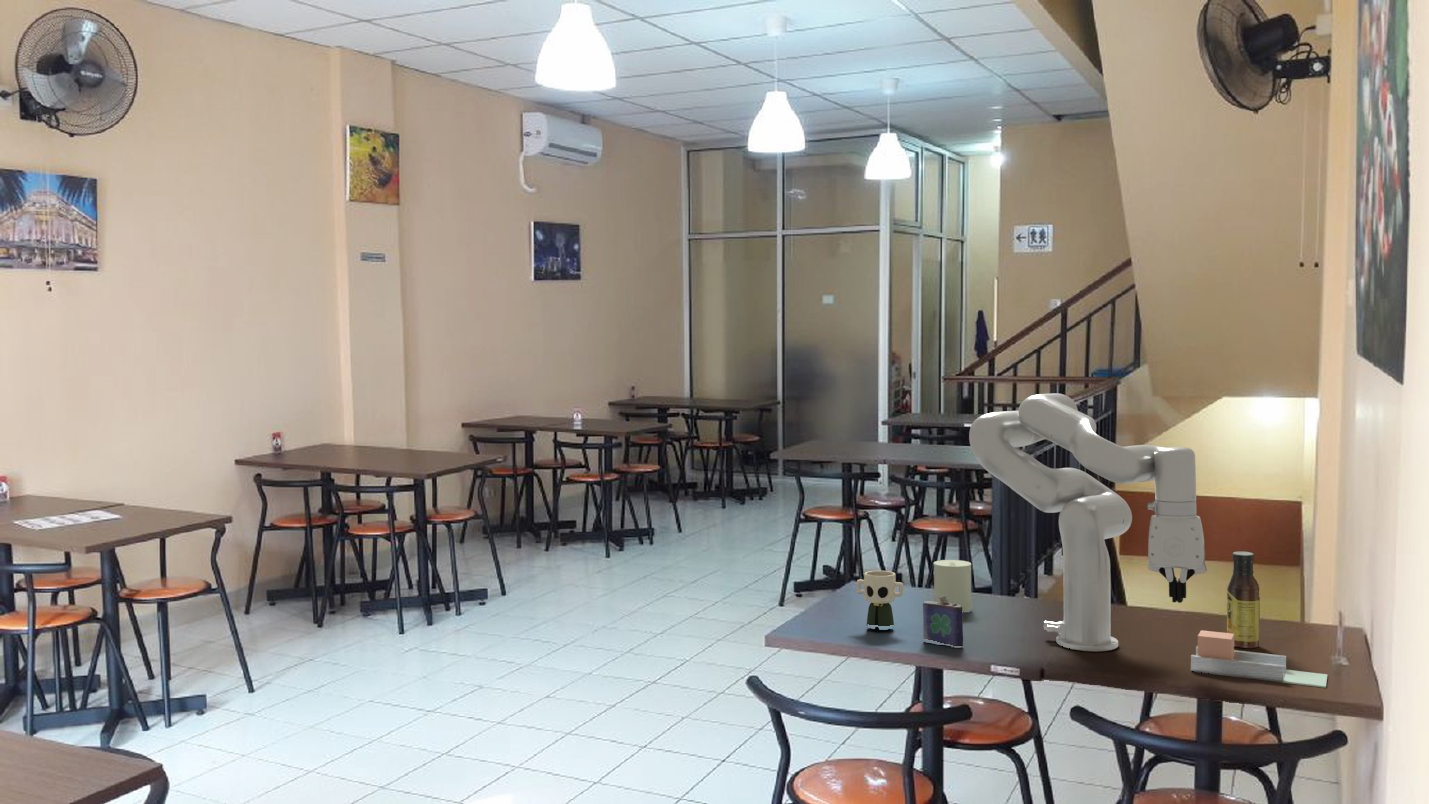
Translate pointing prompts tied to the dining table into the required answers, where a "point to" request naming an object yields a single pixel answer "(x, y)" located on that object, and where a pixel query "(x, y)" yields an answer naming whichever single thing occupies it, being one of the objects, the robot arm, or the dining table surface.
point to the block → (1216, 644)
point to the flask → (943, 622)
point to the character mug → (880, 596)
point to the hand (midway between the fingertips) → (1177, 601)
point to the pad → (1305, 678)
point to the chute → (1243, 665)
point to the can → (953, 582)
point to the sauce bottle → (1243, 602)
